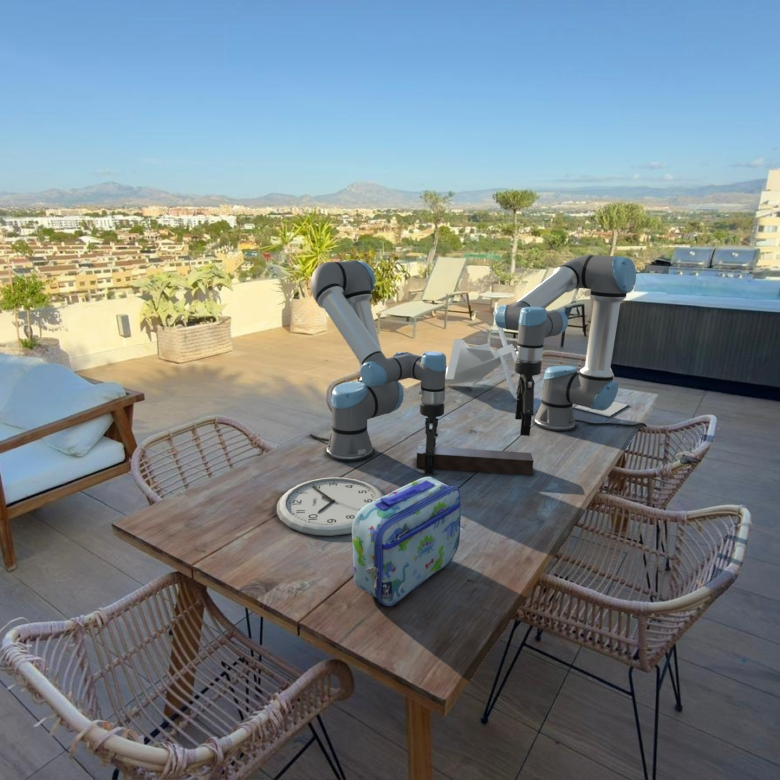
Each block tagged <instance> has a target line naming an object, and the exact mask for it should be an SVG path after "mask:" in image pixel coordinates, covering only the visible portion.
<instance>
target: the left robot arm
mask: <svg viewBox="0 0 780 780" xmlns="http://www.w3.org/2000/svg"><path fill="white" fill-rule="evenodd" d="M375 285H376V276H375V271H374V270H373V268H372V267H371V266H370V265H369V264H368V263H366V262H365V261H362V260H355V259H354V260H353V259H351V260H343V261H342V260H341V261H340V260H339V261H325V262H322V263H321V264H319V265H318V266H317V267H316V268H315V269H314V271H313V272H312V274H311V277H310V291H311V294H312V297H313V299H314V301H315V302H316V304H317V305H318V307H319V308H321V309H324V311H325V312H326V313H327V315H328V316H329V318H330V320H331V321H332V323H333V324H334V326H335V327H336V328H337V330H338V332H339V333H340V335H341V336H342V338H343V339H344V340H345V342H346V344H347V346H348V347H349V348H350V350H351V351H352V353H353V355H354V356H355V358H356V359H357V360H358V364H359V368H360V369H359V375H360V378H359V380H358V381H346V382H343V383H340V384H338V385H336V386H335V387H334V388H333V389H332V392H331V401H330V403H331V404H330V405H331V434H330V437H329V438H325V437H320V436H317V435H314V434H312V433H310V434H309V437H311V438H313V439H316V440H319V441H325V442H328V443H327V446H326V454H327V455H328V456H329V457H330V458H331V459H332V460H333V459H334V460H336V461H340V462H358V461H362V460H365V459H367V458H370V456H372V454H373V444H372V441H371V438H370V434H369V433H368V420H370V419H373V418H377V417H380V416H384V415H389V414H391V413H392V412H395V411H397V410H398V409H399V408H400V407H401V406H402V403H403V401H404V397H405V396H404V395H405V394H404V388H403V385H402V383H401V382H400V381H403V380H406V379H413V380H417V381H419V382H420V390H419V391H418V394H419V395H420V403H419V413H420V414H421V415H422V416H423V417H425V421H424V426H425V436H426V437H425V446H426V452H425V453H423V455H425V468H424V475H434V472H435V471H434V470H435V469H434V447H436V443H437V442H436V441H437V438H438V436H439V433H437V432H438V426H439V418H440V417H442V416H444V414H445V401H446V385H445V379H446V369H447V367H448V366H447V356H446V354H444V352H441V351H433V350H432V351H431V350H430V351H425V352H423V353H422V354H421V355H418V354H414V353H411V352H409V351H398V352H396V353H395V354H394V355H393V356H391V357H386V356H385V354H384V353H383V351H382V347H381V343H380V339H379V336H378V331H377V327H376V323H375V319H374V316H373V311H372V307H371V302H370V301H371V299H372V298H373V294H372V292H373V291H374V290H375V287H376V286H375ZM428 451H431V452H428Z"/></svg>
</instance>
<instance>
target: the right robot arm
mask: <svg viewBox="0 0 780 780" xmlns="http://www.w3.org/2000/svg"><path fill="white" fill-rule="evenodd" d="M636 282H637V268H636V265H635V263H634V261H633V259H631V258H630V257H626V256H619V255H598V254H597V255H596V254H586V255H585V254H584V255H580V256H577V257H574V258H572V259H569V260H568V261H566V262H563V263H562V264H560V265H559V266H557V267H556V268H555V269H554V270H553V271H552V274H551V275H550V276H549V277H547V278H546V279H545V280H544V281H542V282H541V283H539V284H538V285H537V286H536V287H534V288H533V289H532V290H530V291H529V292H528V293H527V294H525V295H524V296H523V297H521V298H519V299H518V300H517V301H516V302H515V303H513V304H512V305H509V304H501V305H500V306H498V307H497V308H496V310H495V311H496V313H495V318H494V322H495V326H496V327H497V326H498V327H500V328H503V330H504V329H506V330H507V331H508V330H510V331H516V332H517V343H516V347H515V352H517V353H516V358H517V360H516V362H515V363H514V372H515V373H516V374H517V375H518V374H520V377H519V376H518V383H517V387H516V395H517V398H516V405H515V415H514V419H515V420H520V421H521V422H520V431H519V435H520V436H522V437H523V436H525V437H530V436H531V427H532V419H533V416H534V414H535V416H534V424H535V425H536V426H537V427H539V428H542V429H544V430H549V431H556V432H567V431H572V430H574V429H575V428H576V423H580V424H586V425H590V426H618V427H619V426H620V427H631V428H633V427H638V426H643V427H644V428H648V425H647V424H646V423H644V422H638V423H634V424H631V423H629V424H628V423H621V422H590V421H587V420H581V419H576V418H575V417H576V416H575V413H574V407H573V405H575V406H578V405H580V406H584V407H588V408H591V409H596V410H601V411H603V410H606V409H608V408H609V407H610V406H611V404H612V403H613V401H614V402H615V399H616V397H617V395H618V391H619V382H618V381H617V380H615V379H614V375H615V374H614V372H613V371H612V370H611V366H612V360H613V353H614V348H615V347H614V345H615V340H616V333H617V327H618V321H619V316H620V315H619V314H620V307H621V303H622V302H623V301H624V300H625V299H626V298H627V294H630V293H632V291H633V290H634V288H635V285H636ZM576 289H586V290H590V293H589V296H590V297H591V299H592V300H593V304H592V305H593V306H592V311H591V318H590V319H591V320H590V325H589V326H590V327H589V334H588V340H587V346H586V347H587V348H586V355H585V362H584V366H583V367H582V368H581V369H579V371H578V368H577V367H575V366H571V365H555V366H554V365H553V366H550V367H547V368H546V369H545V371H544V375H543V381H542V382H543V383H542V394H541V402H540V405H539V407H538V410H537V411H535V413H534V403H535V401H534V399H535V384H536V383H535V380H534V378H533V377H534V376H539V375H540V374H541V373H542V364H543V363H542V360H543V357H544V356H543V354H544V343H545V339H546V338H549V337H555V336H558V335H560V334H562V333H564V332H565V331H566V330H567V329H568V325H569V318H568V316H567V314H566V313H565V312H564V311H562V310H559V309H558V310H557V309H556V310H555V309H551V310H547V308H548V307H549V306H550V305H551V304H553V303H554V302H556V300H558V299H559V298H560V297H562V296H563V295H564V294H565V293H570V292H573V291H574V290H576Z"/></svg>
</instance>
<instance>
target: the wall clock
mask: <svg viewBox="0 0 780 780" xmlns="http://www.w3.org/2000/svg"><path fill="white" fill-rule="evenodd" d="M383 496H385V494H384V493H383V492H382V491H381V490H380V489H379V488H377V487H376V486H374V485H372V484H371V483H369V482H365V481H362V480H359V479H355V478H349V477H338V476H337V477H335V476H333V477H332V476H331V477H322V478H317V479H312V480H307V481H305V482H302V483H299V484H297V485H295V486H293V487H292V488H290V489H288V490H287V491H286V492H285V493H284V494H283V495H281V496H280V498H279V499H278V502H277V503H276V515H277V517H278V518H279V520H280V521H281V522H282V523H283V524H285V525H286V526H287V527H288V528H290V529H293V530H295V531H297V532H299V533H303V534H308V535H312V536H327V537H328V536H329V537H331V536H332V537H333V536H342V535H350V534H352V526H353V521H354V518H355V516H356V515H357V513H358V512H359V510H360V509H361V508H362V507H364V506H365V505H367V504H369V503H371V502H373V501H375V500H377V499H379V498H381V497H383Z"/></svg>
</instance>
